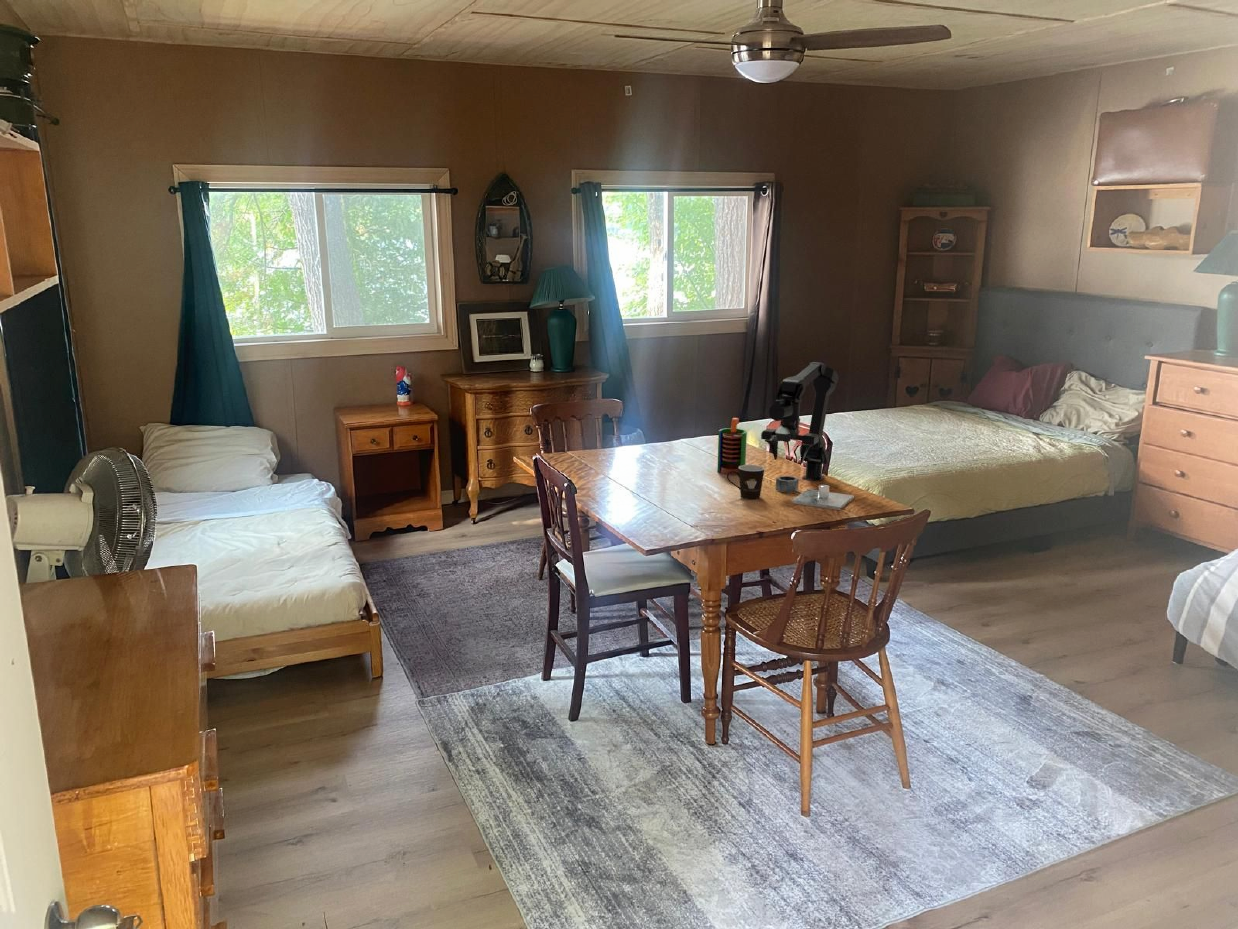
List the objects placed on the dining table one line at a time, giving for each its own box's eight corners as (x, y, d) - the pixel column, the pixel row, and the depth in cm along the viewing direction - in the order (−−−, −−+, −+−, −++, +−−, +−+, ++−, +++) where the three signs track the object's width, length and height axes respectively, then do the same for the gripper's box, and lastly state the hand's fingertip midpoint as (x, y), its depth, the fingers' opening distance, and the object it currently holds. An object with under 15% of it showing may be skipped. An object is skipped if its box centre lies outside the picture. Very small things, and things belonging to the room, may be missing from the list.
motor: (716, 474, 345) (717, 420, 340) (719, 468, 353) (721, 416, 348) (743, 476, 342) (746, 422, 338) (746, 470, 351) (748, 417, 346)
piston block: (807, 491, 322) (808, 477, 321) (853, 498, 314) (854, 483, 313) (791, 503, 308) (792, 488, 307) (839, 510, 301) (840, 495, 300)
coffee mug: (767, 495, 317) (768, 467, 314) (757, 501, 310) (758, 472, 307) (735, 490, 322) (736, 462, 320) (724, 496, 315) (726, 467, 313)
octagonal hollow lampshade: (780, 486, 329) (781, 475, 328) (799, 488, 326) (800, 477, 325) (773, 490, 323) (774, 479, 322) (793, 493, 320) (793, 482, 319)
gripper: (756, 417, 316) (754, 462, 320) (809, 423, 307) (807, 469, 311) (767, 412, 325) (765, 456, 329) (820, 417, 316) (817, 462, 320)
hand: (788, 461), depth 322 cm, fingers open, 9 cm apart
